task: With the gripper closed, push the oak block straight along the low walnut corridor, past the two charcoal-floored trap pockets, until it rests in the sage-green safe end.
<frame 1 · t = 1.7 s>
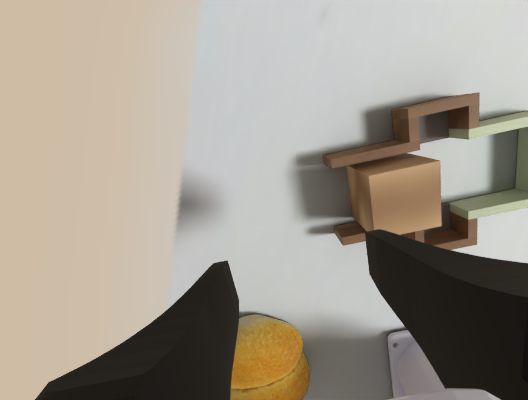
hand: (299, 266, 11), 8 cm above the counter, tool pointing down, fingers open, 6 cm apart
oak block: (376, 185, 19), resting in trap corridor
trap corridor: (426, 175, 19), on the counter
bread roll: (259, 352, 24), on the counter
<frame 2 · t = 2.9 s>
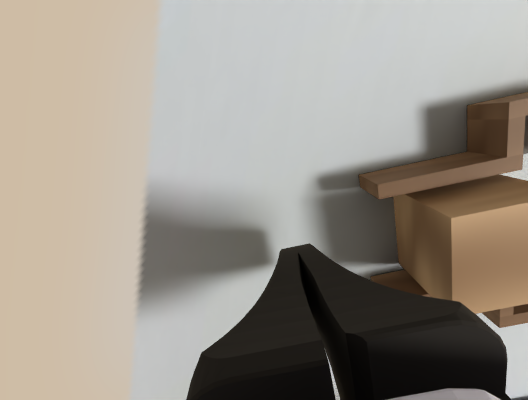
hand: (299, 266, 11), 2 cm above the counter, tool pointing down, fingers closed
oak block: (436, 218, 13), resting in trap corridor
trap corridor: (511, 204, 13), on the counter
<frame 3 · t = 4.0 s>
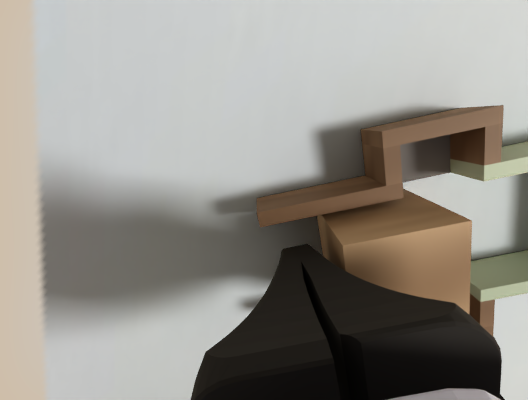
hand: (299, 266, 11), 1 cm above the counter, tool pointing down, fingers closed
oak block: (363, 237, 13), resting in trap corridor, touching gripper
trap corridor: (415, 227, 13), on the counter
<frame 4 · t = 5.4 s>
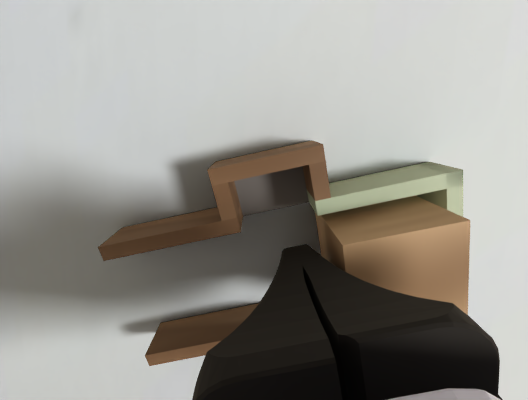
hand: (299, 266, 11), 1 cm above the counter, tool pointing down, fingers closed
oak block: (361, 237, 13), resting in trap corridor, touching gripper
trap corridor: (285, 254, 13), on the counter
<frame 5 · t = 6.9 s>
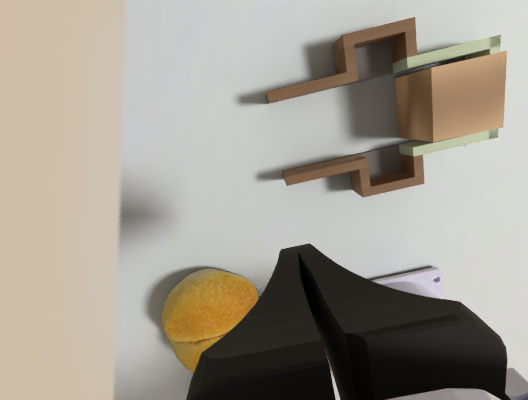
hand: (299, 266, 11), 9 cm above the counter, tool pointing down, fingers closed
oak block: (425, 102, 19), resting in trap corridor
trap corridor: (373, 115, 19), on the counter
bread roll: (218, 310, 24), on the counter
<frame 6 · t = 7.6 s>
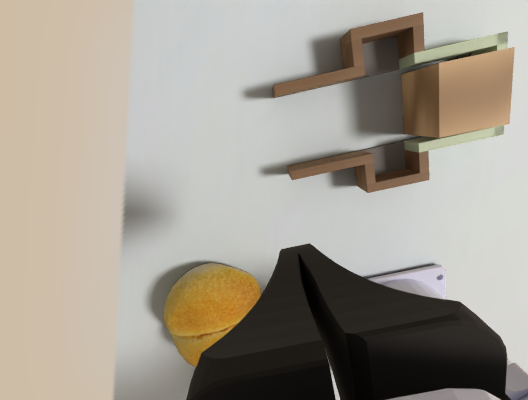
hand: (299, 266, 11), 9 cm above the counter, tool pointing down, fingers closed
oak block: (430, 99, 19), resting in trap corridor
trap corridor: (379, 111, 19), on the counter
bread roll: (220, 305, 24), on the counter
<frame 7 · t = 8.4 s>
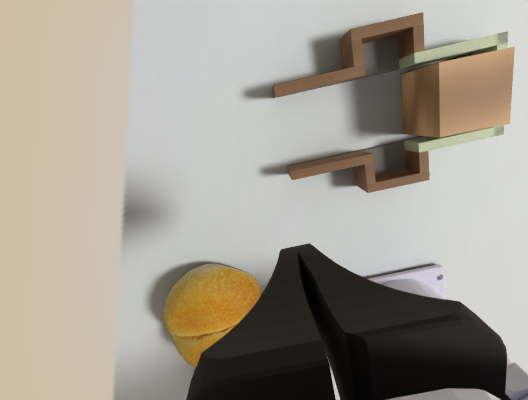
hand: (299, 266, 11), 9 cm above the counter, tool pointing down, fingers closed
oak block: (430, 99, 19), resting in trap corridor
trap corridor: (379, 111, 19), on the counter
bread roll: (220, 305, 24), on the counter
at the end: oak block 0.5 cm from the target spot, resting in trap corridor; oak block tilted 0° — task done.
